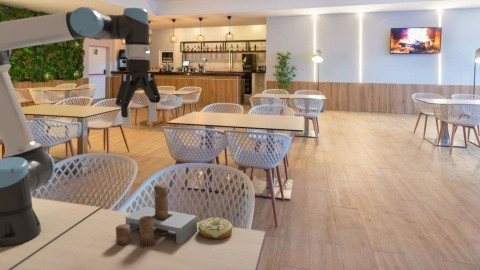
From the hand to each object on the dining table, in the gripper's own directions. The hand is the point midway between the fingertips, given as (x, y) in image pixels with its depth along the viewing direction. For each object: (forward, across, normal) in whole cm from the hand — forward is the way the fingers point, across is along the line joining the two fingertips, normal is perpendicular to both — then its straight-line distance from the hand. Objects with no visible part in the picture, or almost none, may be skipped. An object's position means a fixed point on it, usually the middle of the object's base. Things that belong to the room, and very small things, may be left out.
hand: (140, 124), depth 124 cm
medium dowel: (+33, -16, -13) cm, 39 cm away
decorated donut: (+33, -1, -28) cm, 43 cm away
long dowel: (+33, -7, -12) cm, 36 cm away
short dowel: (+33, -18, -6) cm, 38 cm away
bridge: (+33, -7, -12) cm, 36 cm away
